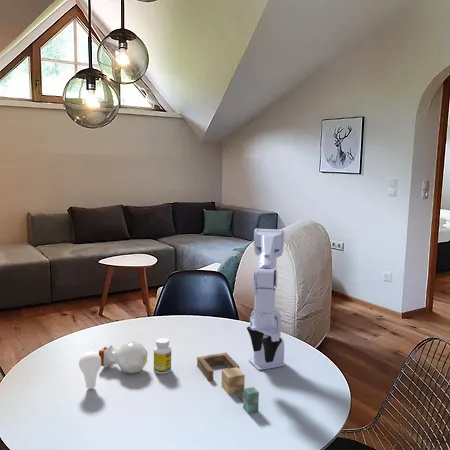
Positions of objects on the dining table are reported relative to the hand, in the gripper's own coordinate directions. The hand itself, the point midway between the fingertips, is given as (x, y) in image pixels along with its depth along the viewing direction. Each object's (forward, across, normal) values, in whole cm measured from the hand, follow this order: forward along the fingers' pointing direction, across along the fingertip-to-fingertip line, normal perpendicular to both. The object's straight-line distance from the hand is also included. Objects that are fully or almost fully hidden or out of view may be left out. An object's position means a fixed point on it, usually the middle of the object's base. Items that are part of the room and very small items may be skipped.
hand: (263, 356), depth 130 cm
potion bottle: (+10, -25, -35) cm, 44 cm away
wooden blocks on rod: (+10, +2, -8) cm, 13 cm away
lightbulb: (+10, -17, -46) cm, 50 cm away
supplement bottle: (+10, -21, -24) cm, 33 cm away
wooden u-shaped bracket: (+10, -14, -8) cm, 19 cm away
